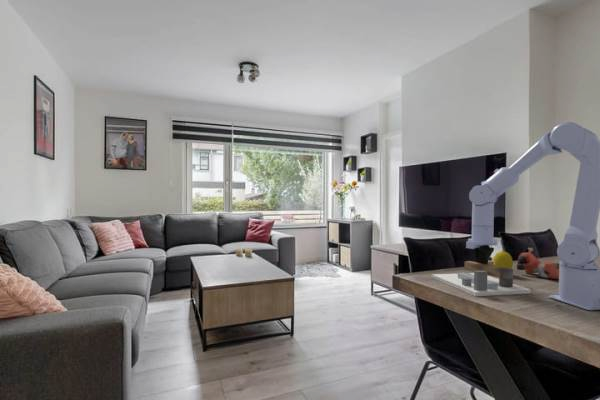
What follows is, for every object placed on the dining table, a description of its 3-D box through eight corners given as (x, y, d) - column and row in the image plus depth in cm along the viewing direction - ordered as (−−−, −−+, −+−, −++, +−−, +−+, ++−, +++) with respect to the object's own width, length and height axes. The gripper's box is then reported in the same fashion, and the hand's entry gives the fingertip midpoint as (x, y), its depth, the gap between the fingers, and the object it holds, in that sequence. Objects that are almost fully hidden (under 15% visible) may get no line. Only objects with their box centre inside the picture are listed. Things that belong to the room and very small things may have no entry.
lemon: (516, 276, 103) (516, 252, 103) (499, 276, 103) (499, 251, 103) (505, 272, 109) (506, 249, 109) (489, 272, 109) (489, 249, 109)
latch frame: (530, 293, 85) (531, 271, 84) (475, 296, 81) (475, 273, 81) (478, 275, 103) (479, 257, 103) (431, 277, 100) (432, 258, 100)
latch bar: (515, 285, 87) (515, 269, 87) (508, 287, 86) (509, 270, 86) (470, 275, 99) (470, 260, 99) (463, 276, 97) (463, 261, 97)
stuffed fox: (530, 251, 112) (572, 254, 102) (523, 280, 109) (566, 286, 99) (521, 240, 109) (563, 242, 99) (514, 269, 106) (557, 275, 95)
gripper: (481, 223, 103) (480, 265, 103) (456, 225, 95) (455, 270, 95) (504, 225, 97) (503, 269, 97) (480, 227, 89) (479, 275, 89)
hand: (481, 270), depth 96 cm, fingers closed, pressing on latch bar
